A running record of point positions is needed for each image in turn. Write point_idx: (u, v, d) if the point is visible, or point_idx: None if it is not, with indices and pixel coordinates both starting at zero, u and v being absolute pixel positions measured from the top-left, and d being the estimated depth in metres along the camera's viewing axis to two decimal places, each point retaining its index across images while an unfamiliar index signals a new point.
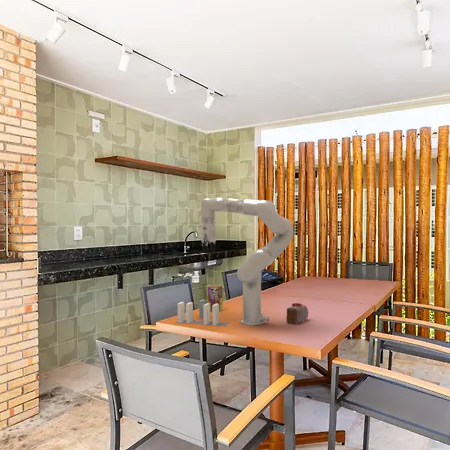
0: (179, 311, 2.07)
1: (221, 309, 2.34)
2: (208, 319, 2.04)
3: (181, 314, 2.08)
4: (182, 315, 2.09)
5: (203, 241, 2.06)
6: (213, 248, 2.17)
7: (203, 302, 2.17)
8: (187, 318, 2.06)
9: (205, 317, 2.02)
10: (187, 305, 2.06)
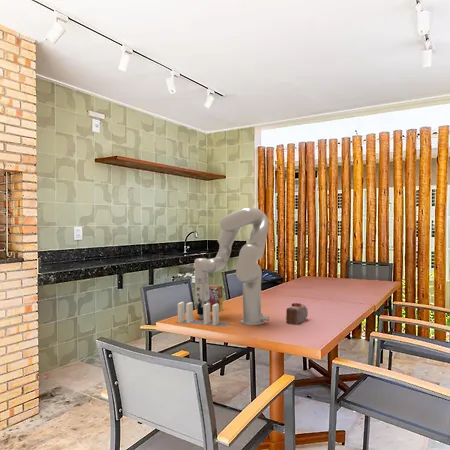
0: (179, 311, 2.07)
1: (221, 309, 2.34)
2: (208, 319, 2.04)
3: (181, 314, 2.08)
4: (182, 315, 2.09)
5: (198, 304, 2.12)
6: None
7: (203, 302, 2.17)
8: (187, 318, 2.06)
9: (205, 317, 2.02)
10: (187, 305, 2.06)
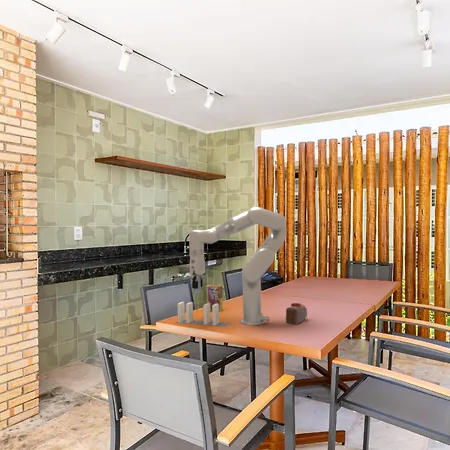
0: (179, 311, 2.07)
1: (221, 309, 2.34)
2: (208, 319, 2.04)
3: (181, 314, 2.08)
4: (182, 315, 2.09)
5: (193, 277, 2.00)
6: None
7: (198, 276, 2.06)
8: (187, 318, 2.06)
9: (205, 317, 2.02)
10: (187, 305, 2.06)
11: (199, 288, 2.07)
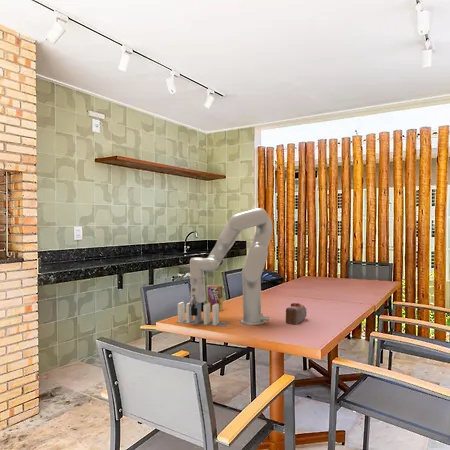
0: (179, 311, 2.07)
1: (221, 309, 2.34)
2: (208, 319, 2.04)
3: (181, 314, 2.08)
4: (182, 315, 2.09)
5: (192, 304, 1.99)
6: None
7: (199, 305, 2.06)
8: (187, 318, 2.06)
9: (205, 317, 2.02)
10: (187, 305, 2.06)
11: (200, 318, 2.07)
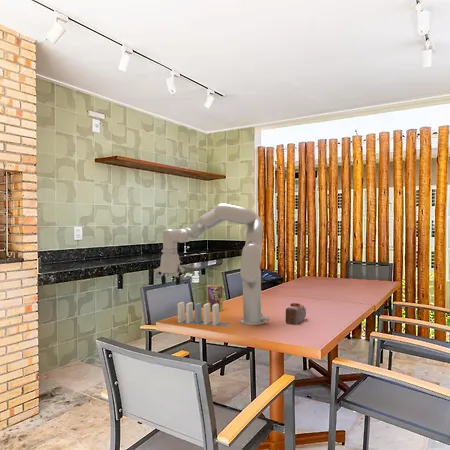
0: (179, 311, 2.07)
1: (221, 309, 2.34)
2: (208, 319, 2.04)
3: (181, 314, 2.08)
4: (182, 315, 2.09)
5: (158, 272, 2.14)
6: None
7: (199, 305, 2.06)
8: (187, 318, 2.06)
9: (205, 317, 2.02)
10: (187, 305, 2.06)
11: (200, 318, 2.07)
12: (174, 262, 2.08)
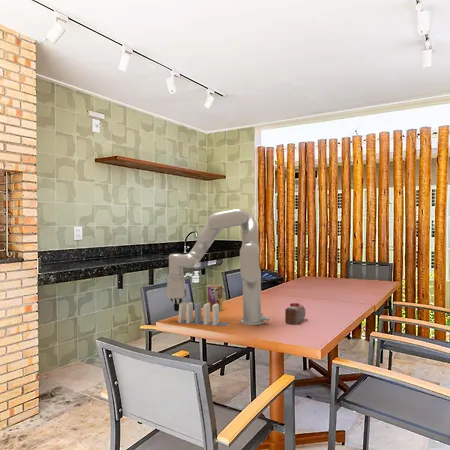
0: (180, 311, 2.07)
1: (221, 309, 2.34)
2: (208, 319, 2.04)
3: (182, 314, 2.08)
4: (183, 315, 2.09)
5: None
6: None
7: (199, 305, 2.06)
8: (187, 318, 2.06)
9: (205, 317, 2.02)
10: (187, 305, 2.06)
11: (200, 318, 2.07)
12: (180, 287, 2.07)
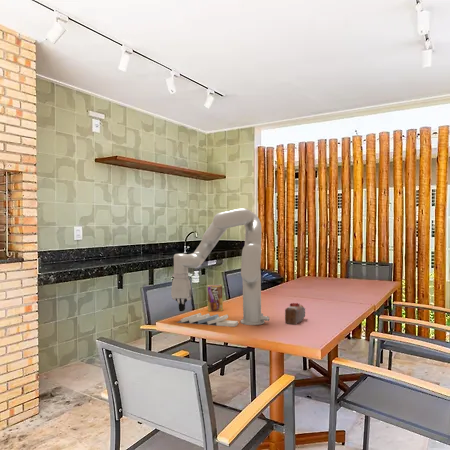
0: (190, 318, 2.05)
1: (221, 309, 2.34)
2: None
3: None
4: None
5: None
6: None
7: (215, 318, 2.02)
8: (193, 320, 2.04)
9: (213, 321, 2.00)
10: (204, 317, 2.02)
11: None
12: (185, 287, 2.06)
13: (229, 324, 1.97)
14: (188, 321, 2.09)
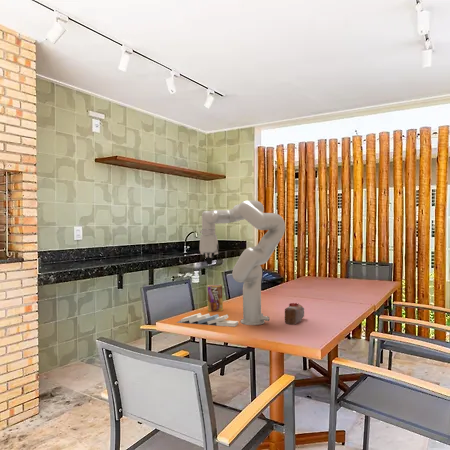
0: (190, 318, 2.05)
1: (221, 309, 2.34)
2: None
3: None
4: None
5: (203, 254, 2.25)
6: None
7: (215, 318, 2.02)
8: (193, 320, 2.04)
9: (213, 321, 2.00)
10: (204, 317, 2.02)
11: None
12: (213, 242, 2.20)
13: (229, 324, 1.97)
14: (188, 321, 2.09)
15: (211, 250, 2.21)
